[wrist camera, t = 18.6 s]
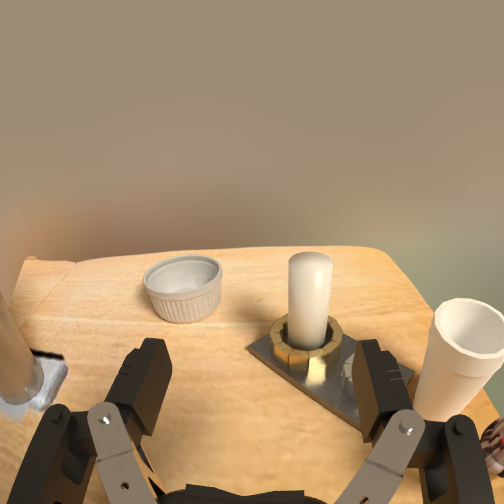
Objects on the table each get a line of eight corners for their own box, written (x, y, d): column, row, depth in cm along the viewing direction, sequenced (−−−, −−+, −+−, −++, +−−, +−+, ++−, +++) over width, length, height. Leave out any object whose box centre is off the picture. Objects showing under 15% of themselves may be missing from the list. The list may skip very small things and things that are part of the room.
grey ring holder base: (249, 352, 41) (247, 332, 39) (302, 317, 47) (303, 298, 45) (366, 434, 27) (374, 417, 25) (412, 377, 33) (420, 358, 31)
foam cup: (478, 407, 26) (525, 329, 20) (435, 451, 23) (489, 375, 17) (433, 368, 33) (463, 288, 28) (386, 401, 30) (416, 318, 25)
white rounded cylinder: (279, 345, 40) (279, 262, 34) (305, 329, 43) (309, 247, 37) (306, 364, 36) (312, 278, 30) (331, 345, 39) (341, 262, 33)
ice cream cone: (466, 468, 19) (543, 379, 12) (475, 509, 14) (570, 433, 7) (422, 481, 20) (496, 396, 13) (429, 526, 15) (521, 462, 8)
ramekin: (203, 278, 60) (198, 246, 57) (241, 308, 51) (237, 272, 48) (142, 302, 53) (133, 269, 50) (170, 341, 44) (160, 304, 41)
